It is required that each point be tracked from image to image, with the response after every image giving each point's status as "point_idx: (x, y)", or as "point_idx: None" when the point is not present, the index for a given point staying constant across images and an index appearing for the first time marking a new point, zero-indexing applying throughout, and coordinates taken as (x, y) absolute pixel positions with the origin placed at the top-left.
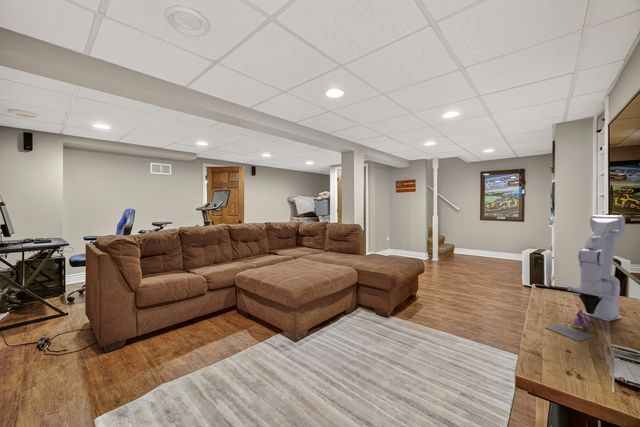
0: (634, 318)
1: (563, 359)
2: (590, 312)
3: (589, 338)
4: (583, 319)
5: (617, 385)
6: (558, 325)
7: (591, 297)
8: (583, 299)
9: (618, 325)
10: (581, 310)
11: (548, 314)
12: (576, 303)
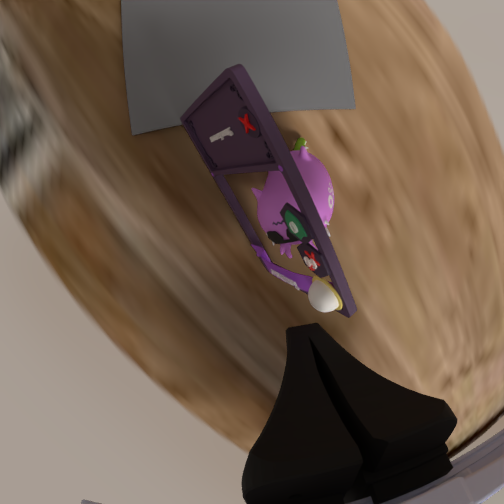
0: None
1: None
2: (289, 336)
3: (127, 79)
4: (269, 212)
5: None
6: (335, 60)
7: (303, 488)
8: (386, 404)
9: (246, 407)
10: (333, 278)
11: (465, 206)
12: None
